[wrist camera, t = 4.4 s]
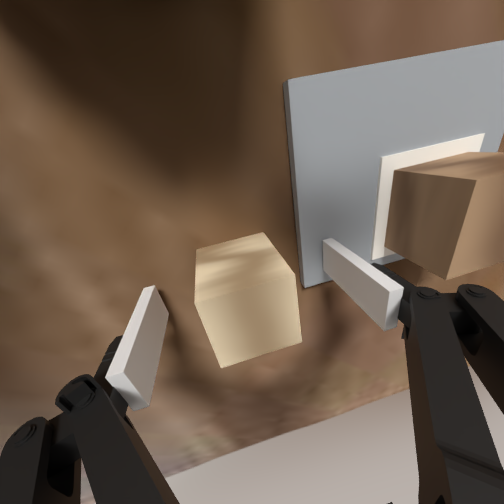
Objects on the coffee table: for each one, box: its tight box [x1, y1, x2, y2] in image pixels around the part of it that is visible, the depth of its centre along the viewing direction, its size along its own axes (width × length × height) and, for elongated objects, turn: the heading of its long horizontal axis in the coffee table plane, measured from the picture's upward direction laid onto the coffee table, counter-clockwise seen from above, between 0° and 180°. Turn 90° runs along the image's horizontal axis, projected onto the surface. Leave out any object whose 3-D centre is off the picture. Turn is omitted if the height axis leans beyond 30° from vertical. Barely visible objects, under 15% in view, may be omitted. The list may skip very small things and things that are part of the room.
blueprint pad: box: [283, 40, 504, 288], centre depth 16 cm, size 16×14×1 cm
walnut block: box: [384, 152, 504, 280], centre depth 14 cm, size 6×6×5 cm
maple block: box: [195, 232, 302, 368], centre depth 14 cm, size 5×5×6 cm
